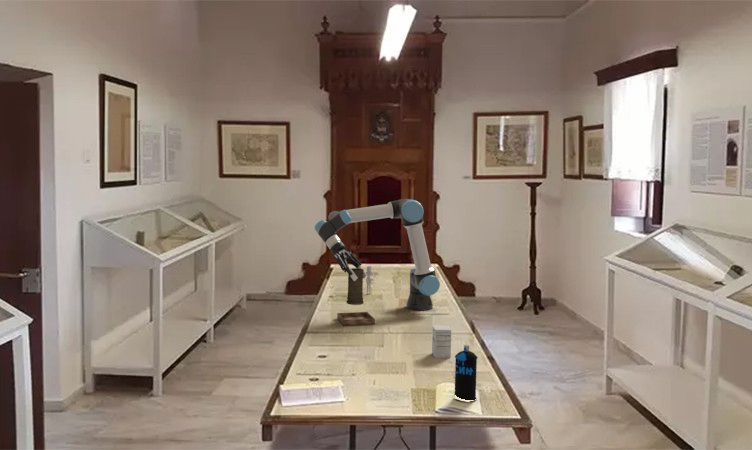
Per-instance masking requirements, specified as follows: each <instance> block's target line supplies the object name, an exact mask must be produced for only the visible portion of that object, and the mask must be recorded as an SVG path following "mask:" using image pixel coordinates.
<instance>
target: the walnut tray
mask: <svg viewBox="0 0 752 450" xmlns="http://www.w3.org/2000/svg"><path fill="white" fill-rule="evenodd" d="M336 316H337V317H336V319H337V320H338V322H339V323H340V324H341V325H342V326H343V327H348V326H349V327H350V326H351V327H352V326H368V325H371V326H373V325H376V318H375V317H374V316H373V315H371V313H369V312H368V311H355V312H353V311H352V312H338V313H336Z"/></svg>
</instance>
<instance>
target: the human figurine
mask: <svg viewBox="0 0 752 450" xmlns="http://www.w3.org/2000/svg"><path fill="white" fill-rule="evenodd" d="M365 273H366V274H367V276H366V277H365V279H366V280H365V282H366V295H371V290H372V288H371V287H372V285H371V284H372V280H373V279H372V277H371V275H373V277H374V278H376V279H377V280H379V279H378V277H376V275H375V274H374V273H373V272H372V266H369V265H368V266H366V272H365Z"/></svg>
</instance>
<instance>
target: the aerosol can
mask: <svg viewBox="0 0 752 450" xmlns="http://www.w3.org/2000/svg"><path fill="white" fill-rule="evenodd" d="M478 357H479V356H477V355H476V354H475V353H474V352H473V351H470V345H469V344H463V350H461V351H458V352H457V354H455V356H454V358H455V364H454V365H455V368H454V370H455V373H454V396H455V395H456V396H457V397H459V398H461V399H465V400H475V399H476V400H477V395H476V393H477V367H478V365H477V363H478V361H477V360H478ZM476 400H475V401H476Z"/></svg>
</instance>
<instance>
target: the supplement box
mask: <svg viewBox="0 0 752 450" xmlns="http://www.w3.org/2000/svg"><path fill="white" fill-rule="evenodd" d="M431 334H432V338H431V339H432V341H431V345H432V346H431V354H432V355H433V356H434V358H437V359H444V358H445V359H446V358H448V359H450V358H451V357H452V356H451V355H452V329H451V328H450V327H449V325H432V333H431Z"/></svg>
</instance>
